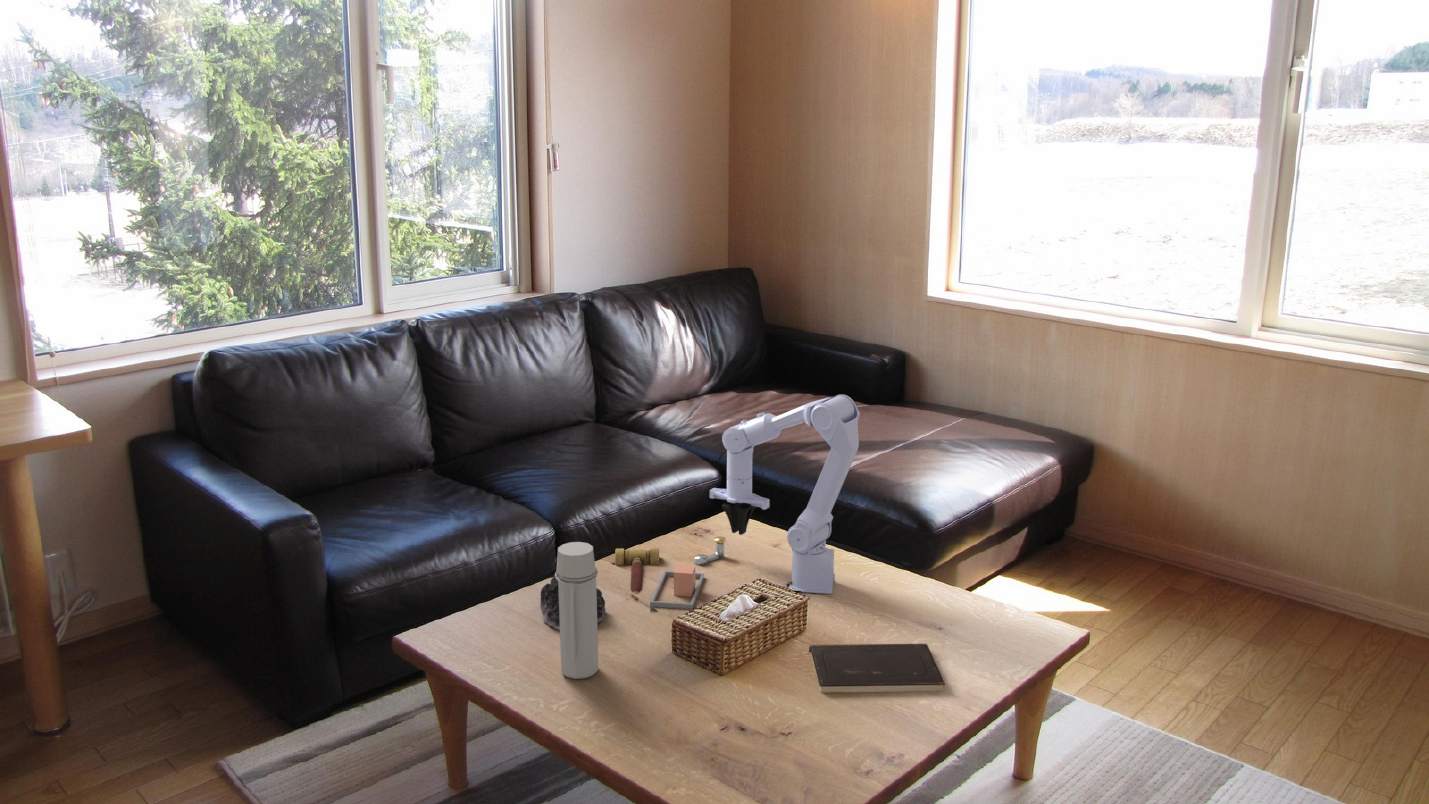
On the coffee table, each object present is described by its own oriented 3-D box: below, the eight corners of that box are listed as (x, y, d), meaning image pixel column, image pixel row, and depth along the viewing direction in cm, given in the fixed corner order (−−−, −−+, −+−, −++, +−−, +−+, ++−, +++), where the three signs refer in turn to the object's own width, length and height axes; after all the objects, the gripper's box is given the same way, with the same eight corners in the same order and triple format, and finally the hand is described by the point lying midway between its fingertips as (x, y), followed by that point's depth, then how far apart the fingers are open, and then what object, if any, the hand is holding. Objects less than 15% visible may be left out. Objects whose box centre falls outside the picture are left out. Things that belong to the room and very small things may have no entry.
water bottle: (564, 661, 216) (559, 539, 209) (604, 663, 215) (601, 541, 208) (552, 685, 207) (547, 559, 200) (594, 687, 206) (590, 561, 199)
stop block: (695, 591, 245) (695, 566, 243) (692, 599, 241) (692, 573, 239) (677, 590, 245) (677, 565, 244) (673, 598, 242) (673, 572, 240)
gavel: (659, 588, 241) (612, 589, 240) (659, 607, 242) (612, 608, 242) (658, 544, 260) (615, 545, 260) (659, 562, 262) (616, 562, 261)
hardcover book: (944, 694, 205) (945, 683, 205) (819, 696, 205) (819, 685, 204) (925, 652, 221) (926, 641, 220) (809, 654, 220) (809, 643, 219)
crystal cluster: (607, 634, 228) (610, 587, 226) (540, 633, 226) (542, 586, 224) (602, 610, 241) (605, 565, 239) (538, 609, 239) (541, 564, 237)
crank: (699, 566, 256) (699, 547, 255) (691, 562, 258) (691, 543, 257) (728, 557, 261) (728, 539, 260) (720, 553, 263) (720, 535, 262)
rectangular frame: (704, 582, 250) (704, 573, 250) (692, 614, 235) (692, 604, 235) (664, 580, 252) (664, 570, 251) (650, 611, 236) (650, 601, 236)
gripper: (702, 475, 254) (702, 531, 257) (759, 487, 246) (758, 544, 250) (718, 467, 259) (718, 522, 263) (774, 477, 252) (773, 534, 256)
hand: (738, 532), depth 257 cm, fingers closed
